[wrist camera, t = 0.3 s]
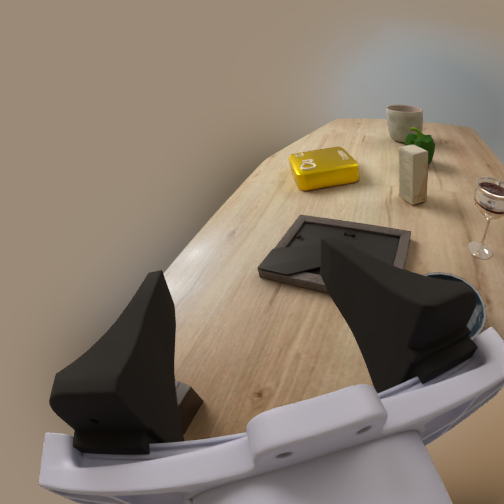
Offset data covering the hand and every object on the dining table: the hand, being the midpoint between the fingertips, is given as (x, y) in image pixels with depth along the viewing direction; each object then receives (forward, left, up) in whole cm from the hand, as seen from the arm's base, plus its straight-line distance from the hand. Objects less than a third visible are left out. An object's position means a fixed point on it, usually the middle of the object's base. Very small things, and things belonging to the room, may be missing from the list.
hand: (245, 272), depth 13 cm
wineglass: (+15, -38, -23) cm, 47 cm away
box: (+35, -36, -23) cm, 55 cm away
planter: (+69, -59, -23) cm, 94 cm away
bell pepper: (+50, -50, -23) cm, 74 cm away
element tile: (+55, -23, -23) cm, 64 cm away
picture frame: (+24, -14, -23) cm, 36 cm away
